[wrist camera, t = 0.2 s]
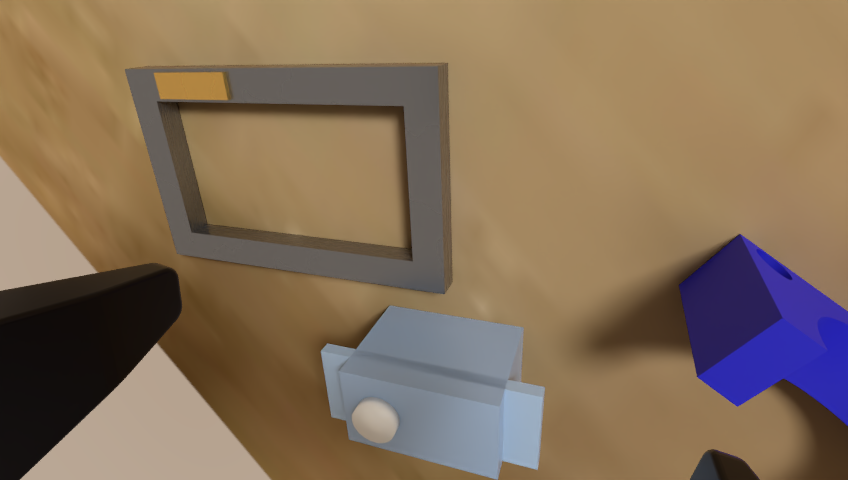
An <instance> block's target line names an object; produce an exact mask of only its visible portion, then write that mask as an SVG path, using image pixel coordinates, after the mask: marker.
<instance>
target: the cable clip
mask: <svg viewBox="0 0 848 480" xmlns="http://www.w3.org/2000/svg"><path fill="white" fill-rule="evenodd" d="M679 288H680V293H681V298H682V303H683V308H684V313H685V318H686V323H687V328H688V333H689V338H690V343H691V348H692V353H693V358H694V363H695V368H696V373H697V377H698V378H699V379H701V380H702V381H703V382H705V383H706V384H707V385H709V386H710V387H711V388H713V389H714V390H716V391H717V392H718V393H720V394H721V395H722V396H724V397H725V398H726V399H728V400H729V401H730V402H732V403H733V404H735V405H736V406H737V407H738V406H739V405H741V404H743V403H744V402H746V401H747V400H749V399H751V398H752V397H754V396H756V395H757V394H759V393H760V392H762V391H764V390H765V389H767V388H769V387H770V386H772V385H773V384H775V383H777V382H778V381H780V380H782V379H783V378H784V379H786V380H787V381H789V382H791V383H792V384H794V385H796V386H797V387H799V388H800V389H802V390H803V391H805V392H806V393H808V394H809V395H810V396H812V397H813V398H814V399H816V400H817V401H818V402H820V403H821V404H822V405H823V406H825V407H826V408H827V409H829V410H830V411H831V412H832V413H833V414H835V415H836V416H837V417H838V418H839V419H840V420H842V421H843V422H844V423H845V424H846V425H847V426H848V311H846V310H845V309H843V308H842V307H841V306H839V305H838V304H837V303H835V302H834V301H832V300H831V299H830V298H828V297H827V296H825V295H824V294H823V293H821V292H820V291H818V290H817V289H816V288H814V287H813V286H812V285H810V284H809V283H807V282H806V281H805V280H803V279H802V278H800V277H799V276H798V275H796V274H795V273H794V272H792V271H791V270H789V269H788V268H787V267H785V266H784V265H782V264H781V263H780V262H778V261H777V260H775V259H774V258H773V257H771V256H770V255H769V254H767V253H766V252H764V251H763V250H762V249H760V248H759V247H757V246H756V245H755V244H753V243H752V242H750V241H749V240H748V239H746V238H745V237H744V236H742V235H741V234H739V235H738V236H737V237H736V238H735V239H733V240H732V241H731V242H730V243H729V244H727V245H726V246H725V247H724V248H723V249H722V250H720V251H719V252H718V253H717V254H716V255H714V256H713V257H712V258H711V259H710V260H708V261H707V262H706V263H705V264H704V265H702V266H701V267H700V268H699V269H698V270H696V271H695V272H694V273H693V274H692V275H691V276H689V277H688V278H687V279H686V280H685V281H683V282H682V283H681V284H680V285H679Z"/></svg>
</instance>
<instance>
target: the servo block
mask: <svg viewBox="0 0 848 480" xmlns="http://www.w3.org/2000/svg"><path fill="white" fill-rule="evenodd" d="M523 331H524V328H523V327H517V326H511V325H505V324H499V323H493V322H487V321H481V320H475V319H469V318H462V317H456V316H450V315H444V314H438V313H432V312H426V311H420V310H414V309H408V308H402V307H396V306H389V307H388V308H387V309H386V311H385V312H384V313H383V315H382V316H381V317H380V319H379V320H378V321H377V322H376V324H375V325H374V326H373V328H372V329H371V330H370V332H369V333H368V334H367V336H366V337H365V338H364V339H363V341H362V342H361V343H360V345H359V346H358V347H357V349H353V348H348V347H343V346H338V345H333V344H328V343H327V344H326V346H325V347H324V348H323V349H322V350H321V356H322V362H323V368H324V374H325V380H326V386H327V392H328V398H329V405H330V411H331V417H334V418H338V419H341V420H345V421H346V422H347V429H348V436H349V440H353V441H356V442H360V443H364V444H367V445H371V446H375V447H378V448H382V449H386V450H390V451H393V452H397V453H401V454H404V455H408V456H412V457H416V458H419V459H423V460H427V461H430V462H434V463H438V464H441V465H445V466H449V467H453V468H456V469H460V470H464V471H467V472H471V473H475V474H478V475H482V476H486V477H490V478H493V479H497V480H498V476H499V472H500V469H501V465H502V461H505V462H509V463H513V464H517V465H521V466H525V467H529V468H533V469H536V470H537V469H538V464H539V458H540V445H541V432H542V419H543V406H544V393H545V387H542V386H537V385H532V384H527V383H522V382H521V370H522V350H523Z"/></svg>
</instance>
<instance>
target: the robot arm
mask: <svg viewBox="0 0 848 480" xmlns="http://www.w3.org/2000/svg"><path fill="white" fill-rule="evenodd" d="M181 310H182V301H181V294H180V286H179V279H178V274H177V273H176V271H175V270H174V269H172V268H170V267H167V266H164V265H161V264H157V263H149V264H144V265H138V266H133V267H127V268H122V269H117V270H111V271H106V272H100V273H95V274H90V275H84V276H79V277H73V278H68V279H62V280H57V281H52V282H46V283H41V284H36V285H30V286H25V287H19V288H14V289H8V290H3V291H0V480H20V479H21V478H22V477H23V476H24V475H25V474H26V473H27V472H28V471H29V470H30V469H31V468H32V467H34V466H35V464H37V463H38V462H39V461H40V460H41V459H42V458H43V457H44V456H45V455H46V454H47V453H48V452H49V451H50V450H51V449H52V448H53V447H54V446H55V445H56V444H58V443H59V442H60V441H61V440H62V439H63V438H64V437H65V436H66V435H67V434H68V433H69V432H70V431H71V430H72V429H73V428H74V427H75V426H76V425H78V423H80V422H81V421H82V420H83V419H84V418H85V417H86V416H87V415H88V414H89V413H90V412H91V411H92V410H93V409H94V408H95V407H96V406H97V405H98V404H100V403H101V401H103V400H104V399H105V398H106V397H107V396H108V395H109V394H110V393H111V392H112V391H113V390H114V389H115V388H116V387H117V386H118V385H119V384H120V383H121V382H122V381H123V380H124V378H126V377H127V375H128V374H129V373H130V372H131V371H132V370H133V369H134V368H135V366H136V365H137V364H138V363H139V362H140V361H141V360H142V359H143V357H144V356H145V355H146V354H147V353H148V352H149V351H150V349H151V348H152V347H153V346H154V345H155V344H156V343H157V342H158V340H159V339H160V338H161V337H162V336H163V335H164V334H165V332H166V331H167V330H168V329H169V328H170V327H171V326H172V325H173V323H174V322H175V321H176V320H177V319H178V317H179V315H180V313H181ZM690 480H760V479H759V478H758V477H757V476H756V474H755V473H754V472H753V471H752V469H751V468H750V467H749V466H748V465H747V463H746V462H745V461H743V460H742V459H740V458H738V457H736V456H733V455H730V454H727V453H724V452H721V451H718V450H714V449H711V450H708V451H706V452H705V453H704V455H703V456H702V458H701V460H700V462H699V464H698V465H697V467H696V469H695V471H694V473H693V475H692V476H691V478H690Z"/></svg>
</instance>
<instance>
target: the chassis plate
mask: <svg viewBox="0 0 848 480" xmlns="http://www.w3.org/2000/svg"><path fill="white" fill-rule="evenodd" d="M125 72H126V76H127V79H128V83H129V86H130V90H131V93H132V97H133V100H134V104H135V107H136V111H137V114H138V118H139V121H140V125H141V128H142V132H143V135H144V139H145V142H146V146H147V149H148V153H149V156H150V160H151V163H152V167H153V170H154V174H155V177H156V181H157V184H158V188H159V192H160V195H161V199H162V202H163V206H164V209H165V213H166V216H167V220H168V223H169V227H170V230H171V234H172V237H173V241H174V244H175V248H176V251H177V254H181V255H188V256H194V257H201V258H207V259H214V260H221V261H227V262H234V263H241V264H247V265H254V266H261V267H267V268H274V269H281V270H287V271H294V272H300V273H307V274H314V275H320V276H327V277H334V278H340V279H347V280H354V281H360V282H367V283H374V284H380V285H387V286H393V287H400V288H407V289H413V290H420V291H427V292H433V293H440V294H445V293H446V291H447V290H448V288H449V287H450V285H451V283H452V241H451V195H450V150H449V105H448V63H397V64H312V65H227V66H145V67H137V68H130V69H125ZM177 102H215V103H267V104H319V105H372V106H404V121H405V138H406V155H407V171H408V188H409V205H410V222H411V238H412V249H407V248H398V247H390V246H382V245H374V244H365V243H357V242H349V241H341V240H333V239H324V238H316V237H308V236H300V235H292V234H283V233H275V232H267V231H259V230H250V229H242V228H234V227H226V226H218V225H209V224H207V221H206V217H205V213H204V209H203V205H202V201H201V197H200V193H199V189H198V185H197V181H196V177H195V173H194V169H193V165H192V161H191V157H190V153H189V149H188V145H187V141H186V137H185V133H184V129H183V125H182V121H181V117H180V113H179V109H178V105H177Z"/></svg>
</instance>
